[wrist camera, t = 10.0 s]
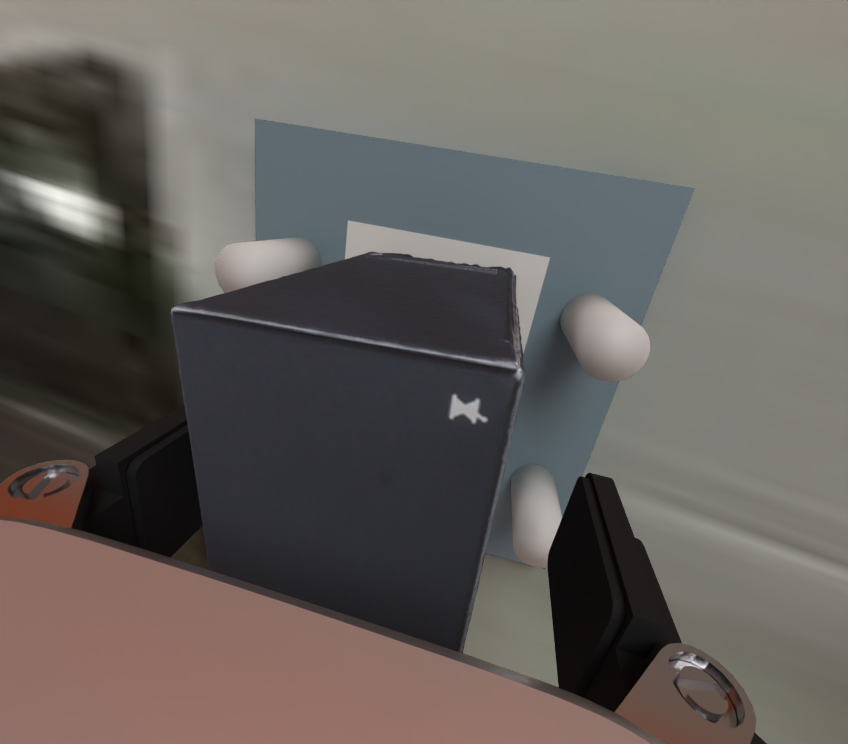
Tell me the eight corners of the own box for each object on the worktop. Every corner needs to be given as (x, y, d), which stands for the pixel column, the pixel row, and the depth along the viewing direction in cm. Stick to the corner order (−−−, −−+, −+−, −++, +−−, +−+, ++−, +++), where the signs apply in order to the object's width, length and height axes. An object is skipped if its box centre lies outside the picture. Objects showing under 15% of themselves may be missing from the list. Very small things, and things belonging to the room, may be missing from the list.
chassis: (679, 190, 14) (768, 177, 10) (543, 551, 21) (555, 647, 17) (271, 125, 16) (175, 86, 11) (269, 479, 23) (208, 547, 18)
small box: (357, 245, 16) (139, 290, 6) (519, 267, 15) (551, 355, 6) (348, 462, 20) (206, 689, 10) (475, 488, 19) (450, 761, 10)
